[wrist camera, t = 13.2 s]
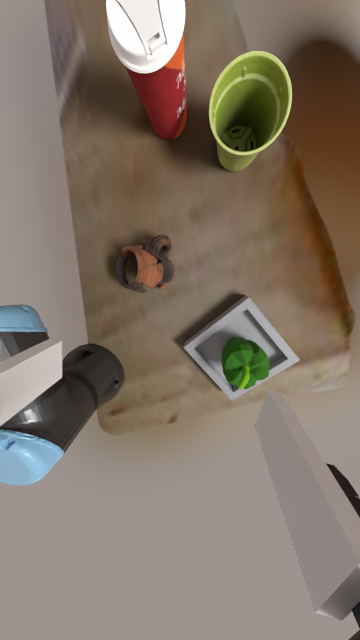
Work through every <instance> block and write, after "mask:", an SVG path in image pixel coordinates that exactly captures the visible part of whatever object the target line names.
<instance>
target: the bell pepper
mask: <svg viewBox="0 0 360 640" xmlns="http://www.w3.org/2000/svg"><path fill="white" fill-rule="evenodd" d="M221 362H222V368H223V373H224V375H225V378H226V380H227V381H228V382H229V383H231V384H234V385H236V386H237V387H238V388H239V389H241V390H242V389H243V388H244V389H248V388H250V387H252V386H255V383H256V380H264V379H265V378H267V377H268V375H269V364H270V362H269V359H268V357H267V354H266V353H265V352H264V350H263V349H262V348H261V347H260V346H259V345H258V344H256V343H255V342H253V341H251V340H245V339H243V338H238V337H235V338H232V339H230V340H228V342H227V343H226V344H225V346H224V348H223V351H222V357H221Z"/></svg>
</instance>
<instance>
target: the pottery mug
mask: <svg viewBox="0 0 360 640" xmlns="http://www.w3.org/2000/svg"><path fill="white" fill-rule="evenodd" d="M142 248H143V246H141V245H132V246H130V245H127V246H125V247H123V248H122V252H123V253H124V254H123V256H122V257H121V256H118V257H117V260H116V272H117V277H118V279H119V282H120V283H121V285H122V286H123V287H125V288H128V289H131V290H133V291H136V292H140V293H145V292H146V290H145V289H144V288H143V284H145V285H147V286H148V287H150V288H153V287H155V286H156V285H157V284H158V285H160V284H162V285H161V286H160V287H159V289H160V290H161V289H164V288H166V287H167V286H168V285H169V284H170V282H171V280H172V278H173V272H174V268H173V264H172V261H170V260H169V259H168V255H169V252H170V250H171V241H170V239H169V238H168V236H164V235H159V236H156V237H155V238H154V239H153V240H152V241H151V243H150V244H147V245H145V247H144V248H145V250H142ZM134 254H135V256H136V259H137V263H138V272H137V276H136V279H135V281H134V282H133V283H132V284H129V283H128V281H127V279H126V274H125V264H126V261H127V258H128V257H131V256H133V255H134ZM157 259H159V260H160V261H161V262H160V263H157ZM142 283H143V284H142Z"/></svg>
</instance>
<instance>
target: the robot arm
mask: <svg viewBox="0 0 360 640" xmlns="http://www.w3.org/2000/svg"><path fill="white" fill-rule="evenodd" d="M46 331H47V328H45V327H44V325H43V323H42V321H41V319H40V317H39V315H38V313H37V311H36V310H35V309H34V308H32V307H30V306H27V305H9V306H0V482H1V483H5V484H10V485H28V484H32V483H34V482H37V481H38V480H40V479H41V478H42V477H44V476H45V475H46V474H47V473H48V471H49V470H50V469H51V468H52V466H53V465H54V464H55V463H56V462H57V461H58V459H60V458H61V457H62V456H63V454H64V453H65V451H66V450H67V449H68V447H69V445H70V444H71V443H72V442H73V440H74V439H75V437H76V436H77V435H78V433H79V432H80V431H81V429H82V428H83V427H84V425H85V424H86V423H87V421H88V420H89V418H90V417H91V416H92V414H93V413H94V412H95V410H96V409H98V408H99V407H101V406H102V405H104V404H105V403H106V402H108V401H109V400H111V399H112V398H114V397H115V396H116V394H117V393H118V392H119V390H120V389H121V387H122V385H123V382H124V371H123V368H122V365H121V363H120V361H119V360H118V359H117V357H116V356H115V355H114V354H113V353H111V352H110V351H109V350H107V349H105V348H103V347H101V346H98V345H93V344H87V345H82V346H79V347H77V348H76V349H74V350H72V351H71V352H70V353H68V354H67V355H66V357H65V358H64V359H63V361H62V341H60V340H56V339H52V338H50V339H49V337H48V334H47V332H46ZM255 428H256V431H257V434H258V437H259V440H260V443H261V446H262V450H263V453H264V456H265V459H266V462H267V465H268V468H269V471H270V474H271V477H272V480H273V483H274V487H275V490H276V493H277V496H278V499H279V502H280V505H281V508H282V511H283V514H284V517H285V521H286V524H287V527H288V530H289V533H290V536H291V539H292V542H293V545H294V548H295V551H296V554H297V557H298V561H299V564H300V567H301V570H302V573H303V576H304V579H305V582H306V585H307V588H308V591H309V595H310V598H311V601H312V604H313V607H314V610H315V612H316V613H319V614H322V615H325V616H329V617H332V618H335V619H338V620H343V619H344V618H345V617H346V616H347V615H348V614H349V613H350V612H351V611H352V612H353V614H354V616H355V619H356V621H357V623H358V626H359V628H360V499H359V496H358V494H357V493H356V491H355V490H354V489H353V487H352V486H351V484H350V483H349V481H348V480H347V479H346V478H345V477H344V476H343V475H342V473H340V471H339V470H338V469H337V468H336V467H335V466H334V465H330V464H326V463H325V461H324V460H323V458H322V456H321V455H320V453H319V452H318V450H317V449H316V447H315V445H314V444H313V442H312V440H311V439H310V437H309V436H308V434H307V432H306V431H305V429H304V428H303V426H302V424H301V423H300V421H299V420H298V418H297V416H296V415H295V413H294V411H293V410H292V408H291V407H290V405H289V403H288V402H287V400H286V399H285V397H284V395H283V394H282V393H280V392H276V391H271V390H269V391H268V394H267V396H266V399H265V401H264V404H263V406H262V409H261V411H260V414H259V416H258V418H257V421H256V423H255ZM349 640H360V630H359V631H358V632H357V633H356V634H354V635H353V636H352V637H351V638H350V639H349Z"/></svg>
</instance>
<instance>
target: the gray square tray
mask: <svg viewBox="0 0 360 640" xmlns="http://www.w3.org/2000/svg"><path fill="white" fill-rule="evenodd" d="M235 337H238V338H243V339H245V340H251V341H253V342H255V343H256V344H258V345H259V346H260V347H261V348H262V349H263V350H264V352H265V353H266V354H267V357H268V359H269V362H270V364H269V375H268V377H267V378H265V379H264V380H256V383H255V386H252V387H250V388H248V389H244V388H243V389H242V390H241V389H239V388H238V387H237V386H236V385H234V384H231V383H229V382H228V381H227V380H226V378H225V375H224V373H223V368H222V362H221V357H222V351H223V348H224V346H225V344H226V343H227V342H228V340H230V339H232V338H235ZM183 348H184V349H185V350H186V351H187V352H188V353H189V354H190V355H191V357H192V358H193V359H194V360H195V361H196V362H197V363H198V364H199V365H200V366H201V367H202V369H203V370H204V371H205V372H206V373H207V374H208V375H209V376H210V377H211V378H212V379H213V381H214V382H215V383H216V384H217V385H218V386H219V387H220V388H221V389H222V390H223V391H224V393H225V394H226V395H227V396H228V397H229V398H230V399H231V400H234V399H235V398H237V397H239V396H240V395H242V394H244V393H246V392H247V391H249V390H251V389H252V388H254V387H256V386H257V385H259V384H261V383H262V382H264V381H266V380H267V379H269V378H271V377H273V376H274V375H276V374H278V373H279V372H281V371H283V370H284V369H286V368H288V367H289V366H291V365H293V364H294V363H296V362H298V361H299V358H298V357H297V356H296V355H295V354H294V352H293V351H292V350H291V349H290V347H289V346H288V345H287V344H286V342H285V341H284V340H283V339H282V338H281V336H280V335H279V334H278V333H277V331H276V330H275V329H274V328H273V326H272V325H271V324H270V323H269V322H268V320H267V319H266V318H265V317H264V315H263V314H262V313H261V312H260V310H259V309H258V308H257V307H256V306H255V304H254V303H253V302H252V301H251V299H250V298H249V297H248V296H246V295H245V296H244V297H242V298H241V299H240V300H238V301H237V302H236V303H235V304H233V305H232V306H231V307H229V308H228V309H227V310H226V311H224V312H223V313H222V314H220V315H219V316H218V317H216V318H215V319H214V320H213V321H211V322H210V323H209V324H207V325H206V326H205V327H204V328H202V329H201V330H200V331H198V332H197V333H196V334H194V335H193V336H192V337H191V338H189V339H188V340H187V341H185V344H184V347H183Z"/></svg>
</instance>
